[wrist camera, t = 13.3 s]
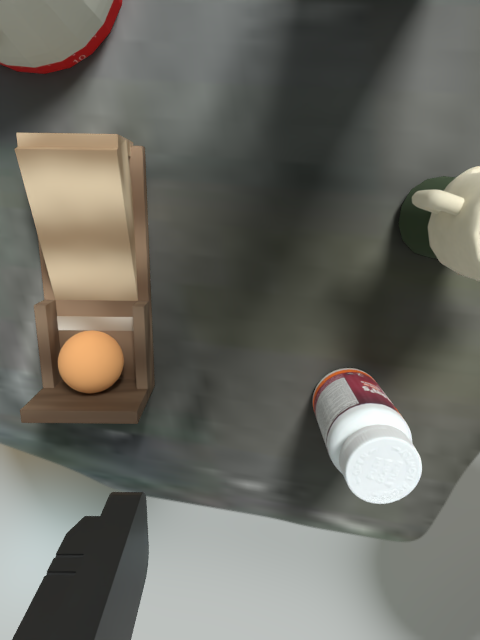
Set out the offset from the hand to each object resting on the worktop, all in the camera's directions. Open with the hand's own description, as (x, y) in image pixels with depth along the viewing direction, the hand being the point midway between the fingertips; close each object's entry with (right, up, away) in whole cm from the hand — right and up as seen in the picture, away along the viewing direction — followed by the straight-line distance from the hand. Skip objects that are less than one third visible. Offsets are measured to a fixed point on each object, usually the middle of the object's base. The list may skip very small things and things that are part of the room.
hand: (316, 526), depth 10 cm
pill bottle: (+8, -2, +30) cm, 31 cm away
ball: (-14, +1, +25) cm, 29 cm away
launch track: (-14, +9, +28) cm, 33 cm away
